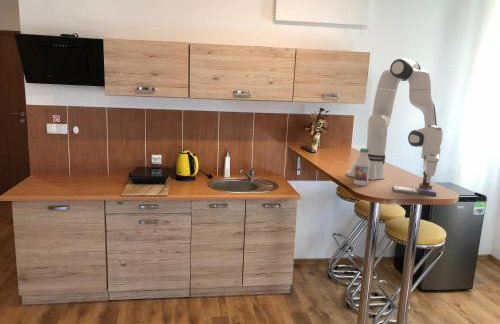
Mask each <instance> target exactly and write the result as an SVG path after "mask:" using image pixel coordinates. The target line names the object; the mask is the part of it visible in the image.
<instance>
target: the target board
mask: <svg viewBox="0 0 500 324" xmlns="http://www.w3.org/2000/svg"><path fill="white" fill-rule="evenodd" d="M392 192H393V193H401V194H408V195H416V196H418V195H419V192H418V189H417V188H416V187H412V186H411V187H409V186H402V185H392Z"/></svg>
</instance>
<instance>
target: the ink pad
mask: <svg viewBox="0 0 500 324" xmlns="http://www.w3.org/2000/svg"><path fill="white" fill-rule="evenodd" d="M417 191H418V195H420V196H421V195H422V196H423V195H424V196H429V197H437V191H436V190H434V189H432V190H431V189H422V188H420V189H419V188H418V189H417Z"/></svg>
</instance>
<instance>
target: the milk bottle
mask: <svg viewBox="0 0 500 324" xmlns="http://www.w3.org/2000/svg"><path fill="white" fill-rule="evenodd" d="M368 153H369V149H366V148H363V147H362V148H360V149H359V156H358V158H357V160H356V161H355V162H356V166H355V175H354V177H353V184H354V185H356V186H368V185H369V180H370V179H369V171H370V161H369V158H368Z"/></svg>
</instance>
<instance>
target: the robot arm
mask: <svg viewBox="0 0 500 324" xmlns="http://www.w3.org/2000/svg"><path fill="white" fill-rule="evenodd" d="M401 81H402V82H408V86H409V87H408V88H409V89H408V90H409V91H408V98H409V99H408V100H409V102H410V104H411V105H412V106H413V107H414V108H416V109H418V110H419V111H421V113H422V114H423V120H424V121H423V122H424V126H423V127H422V128H418V129H413V130H412V131H410V132H409V133H408V137H407V141H408V144H409V145H410V146H412V147H415V148H422V150H421V157H420V158H422V159H423V164H422V169H423V172H424V171H425V173H426V175H427V179H426V182H427V183H430V184H431V179H432V176H433V177H434V176H435V173H436V170H437V166H438V162H439V161H440V155H441V145H442V143H443V142H442V141H443V130H442V127H440V126H438V125H437V115H436V114H437V113H436V107H435V104H434V101H433V98H432V82H431V76H430V73H429V72H428V71H427V70H424V69H422V68H421V66H420V64H419V63H418V62H417V61H415V60H412V59H409V58H408V59H407V58H398V59H395V60H394V61H393V62H392V63H391V64H390V67H389V69H386V70H384V71H383V72H382V73H381V74H380V78H379V79H378V83H377V88H376V92H375V94H374V95H375V96H374V100H373V107H372V108H373V109H372V114H371V115H370V117H369V118H368V120H367V121H368V122H367V135H366V136H367V140H366V148H365V149H369V153H368V158H369V161H370V171H369V179H368V180H374V181H375V180H383V179H385V178H386V177H385V176H386V175H385V162H386V149H387V148H386V147H387V136H388V128H389V125H390V123H391V120H392V119H391V118H392V114H393V109H394V108H393V107H394V103H395V99H396V95H397V91H398V86H399V84H400V83H401ZM356 162H357V161H355V162H353V163H352V164H351V167H350V170H347V171H346V175H347V176H349V177H353V178H354V175H355V166H356Z"/></svg>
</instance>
